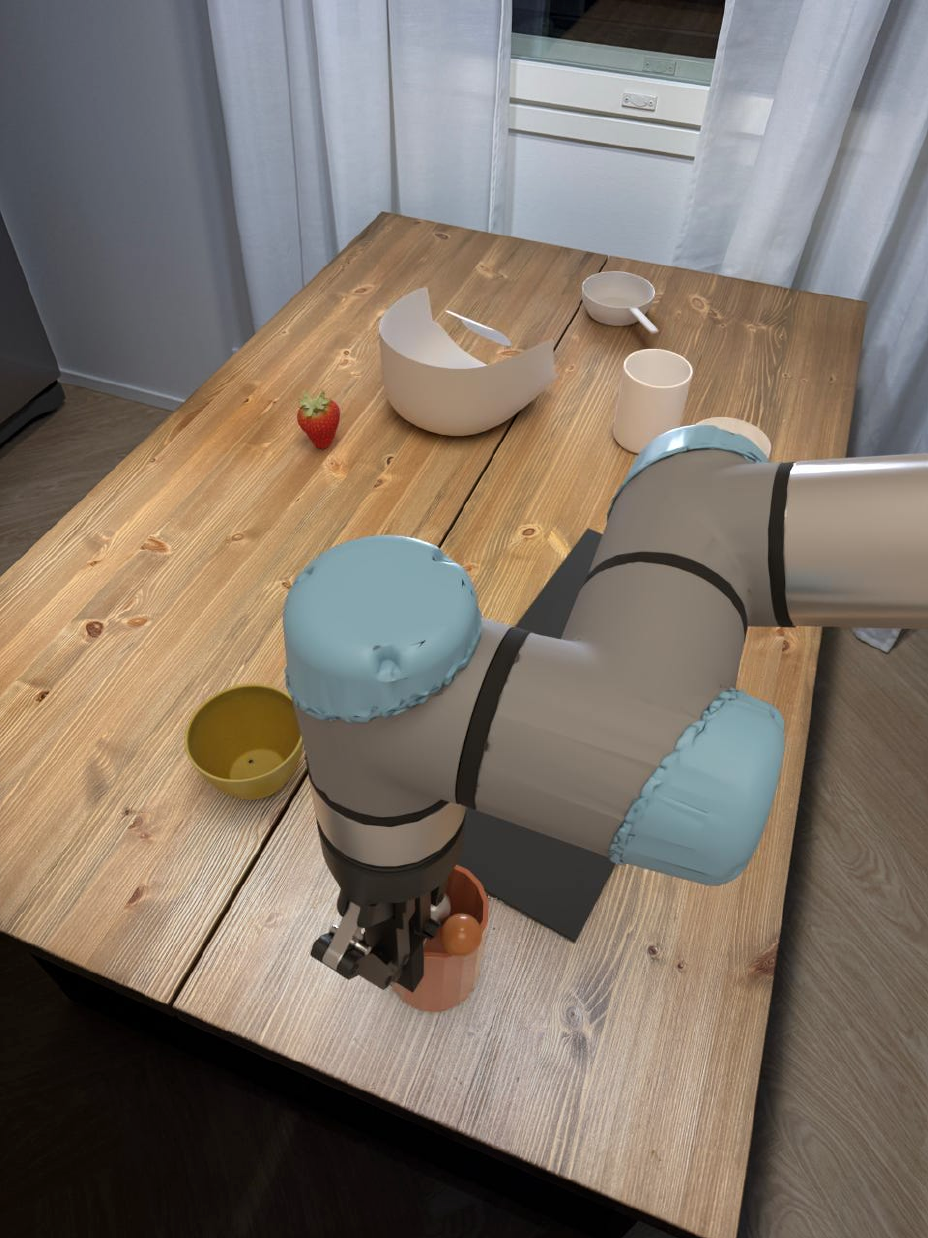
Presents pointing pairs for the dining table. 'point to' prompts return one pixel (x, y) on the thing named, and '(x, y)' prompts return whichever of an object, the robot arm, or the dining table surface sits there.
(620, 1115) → the dining table surface
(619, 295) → the small pan
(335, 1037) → the dining table surface
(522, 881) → the mat
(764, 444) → the cup
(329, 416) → the fruit
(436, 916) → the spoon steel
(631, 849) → the robot arm
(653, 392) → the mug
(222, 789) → the flower pot
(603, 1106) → the dining table surface
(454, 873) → the spoon cup
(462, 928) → the brown piece
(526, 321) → the dining table surface
